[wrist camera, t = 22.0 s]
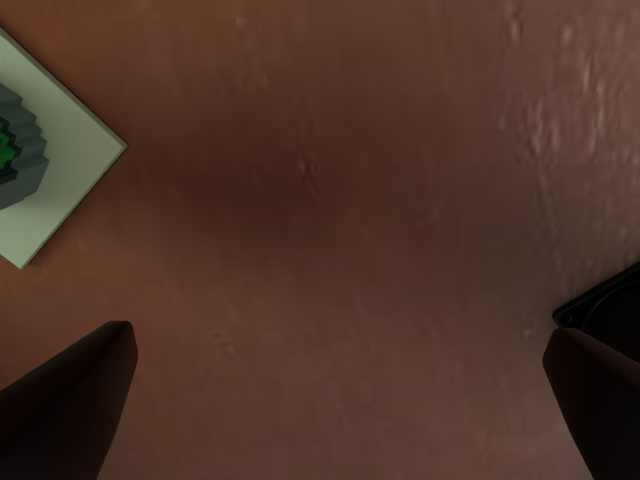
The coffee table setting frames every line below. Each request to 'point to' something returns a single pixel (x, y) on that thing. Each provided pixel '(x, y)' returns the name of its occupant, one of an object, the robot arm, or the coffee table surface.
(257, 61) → the coffee table surface
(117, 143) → the mat
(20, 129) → the can
